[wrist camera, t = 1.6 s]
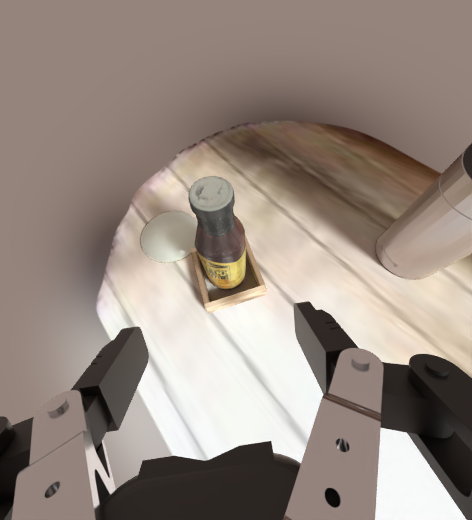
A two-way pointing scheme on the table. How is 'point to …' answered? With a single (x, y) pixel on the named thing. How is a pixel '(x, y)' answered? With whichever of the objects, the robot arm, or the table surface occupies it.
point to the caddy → (236, 297)
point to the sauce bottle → (218, 232)
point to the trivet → (169, 236)
